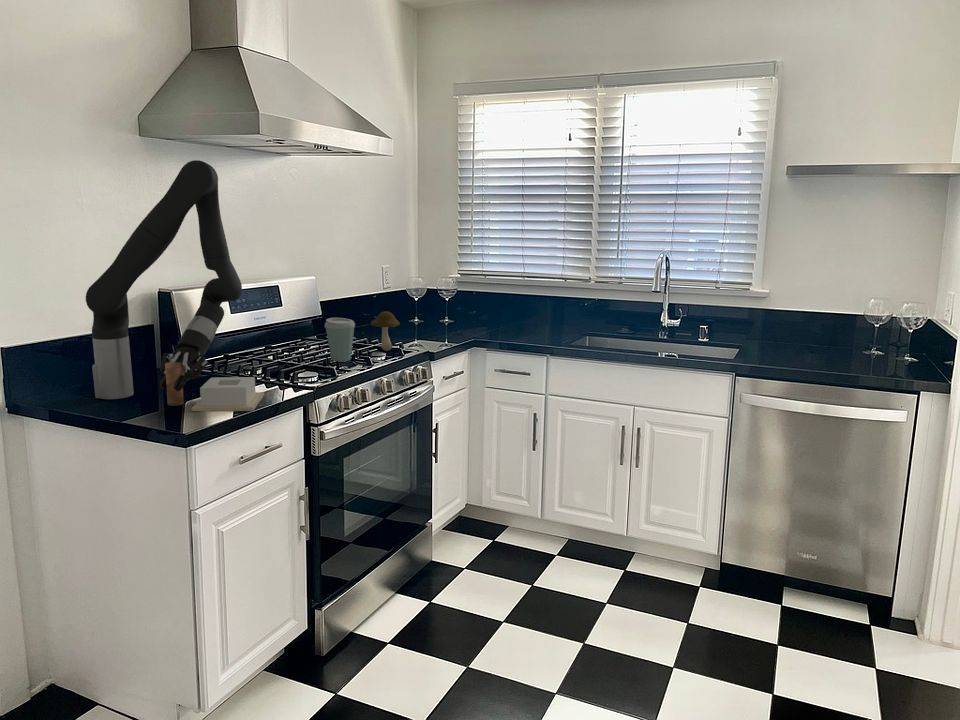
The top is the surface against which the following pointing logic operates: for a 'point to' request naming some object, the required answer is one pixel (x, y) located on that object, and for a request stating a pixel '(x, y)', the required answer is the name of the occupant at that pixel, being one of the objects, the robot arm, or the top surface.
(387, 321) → the mushroom
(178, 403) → the peg
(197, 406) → the socket block
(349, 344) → the disposable coffee cup
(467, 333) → the top surface
